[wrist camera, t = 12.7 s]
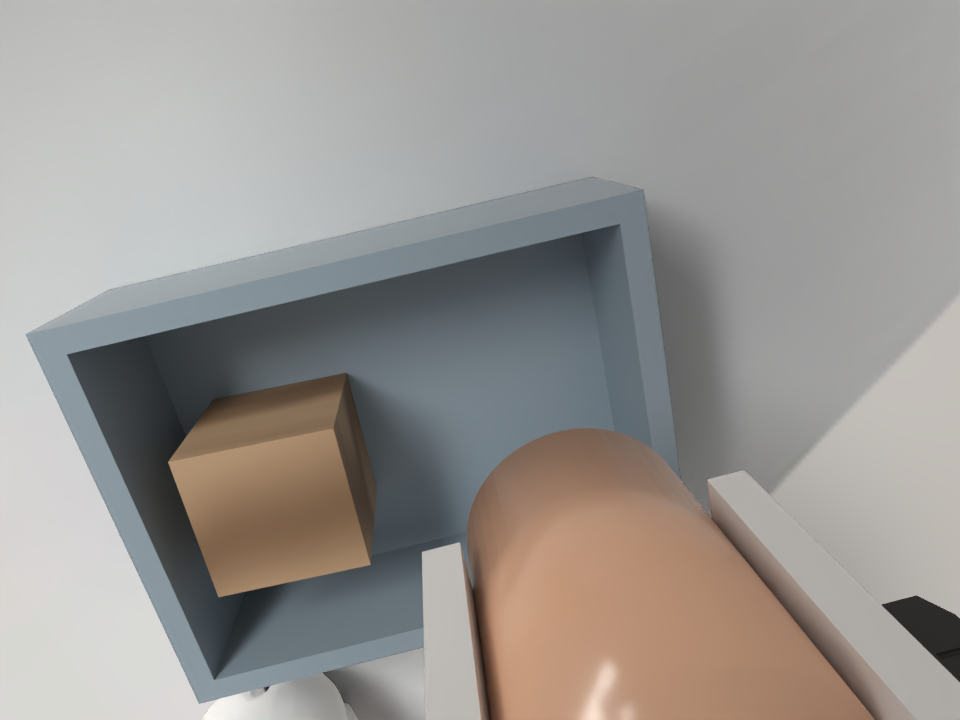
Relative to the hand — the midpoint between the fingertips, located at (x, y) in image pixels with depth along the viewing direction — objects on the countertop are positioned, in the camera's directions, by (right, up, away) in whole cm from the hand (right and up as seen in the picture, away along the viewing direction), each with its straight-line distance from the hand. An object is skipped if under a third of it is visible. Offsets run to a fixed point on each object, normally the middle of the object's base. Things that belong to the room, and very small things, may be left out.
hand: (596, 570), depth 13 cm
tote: (-5, +2, +13) cm, 14 cm away
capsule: (0, 0, +2) cm, 2 cm away
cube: (-9, +1, +13) cm, 16 cm away
